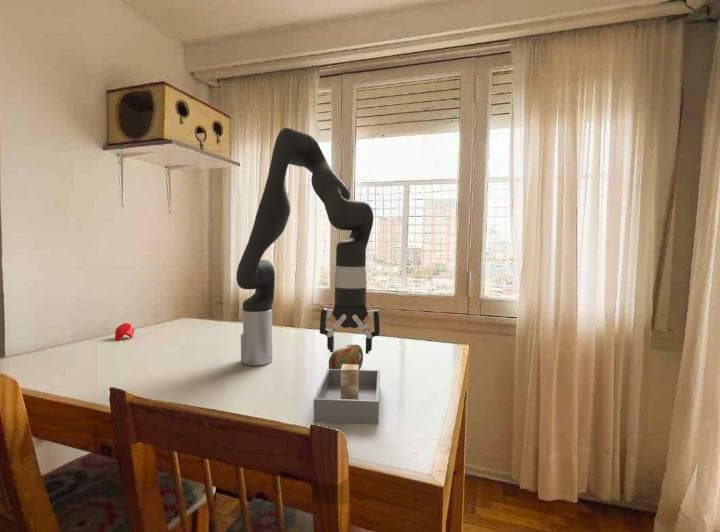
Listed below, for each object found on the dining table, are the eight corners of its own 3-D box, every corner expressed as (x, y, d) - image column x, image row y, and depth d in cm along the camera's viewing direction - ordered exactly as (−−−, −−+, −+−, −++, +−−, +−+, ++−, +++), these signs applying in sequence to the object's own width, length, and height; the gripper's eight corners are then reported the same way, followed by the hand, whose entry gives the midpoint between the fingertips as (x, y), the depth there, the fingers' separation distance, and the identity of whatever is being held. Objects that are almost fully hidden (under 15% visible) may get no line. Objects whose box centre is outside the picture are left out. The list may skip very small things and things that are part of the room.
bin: (313, 421, 82) (313, 399, 81) (327, 387, 101) (327, 368, 101) (378, 424, 81) (378, 401, 80) (379, 388, 101) (379, 370, 100)
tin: (335, 384, 104) (335, 354, 103) (326, 381, 106) (326, 352, 105) (363, 369, 117) (364, 342, 116) (355, 367, 118) (355, 340, 118)
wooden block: (340, 402, 89) (340, 369, 89) (342, 396, 93) (342, 364, 93) (357, 403, 89) (357, 370, 88) (358, 396, 93) (358, 364, 92)
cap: (124, 328, 157) (112, 323, 152) (136, 323, 156) (125, 318, 151) (121, 346, 153) (109, 341, 148) (134, 341, 152) (122, 337, 147)
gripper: (318, 286, 86) (317, 355, 87) (380, 287, 85) (379, 358, 86) (323, 282, 94) (322, 346, 95) (380, 284, 93) (379, 348, 94)
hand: (349, 352), depth 90 cm, fingers open, 8 cm apart
